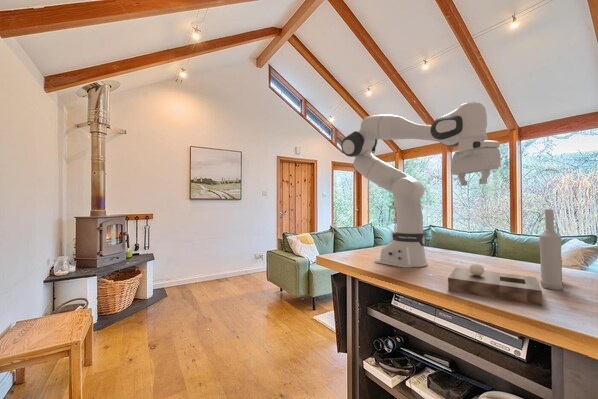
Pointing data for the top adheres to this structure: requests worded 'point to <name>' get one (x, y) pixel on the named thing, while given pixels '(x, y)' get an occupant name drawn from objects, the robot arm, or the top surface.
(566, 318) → the top surface
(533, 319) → the top surface
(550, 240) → the bottle
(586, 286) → the top surface
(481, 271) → the ball
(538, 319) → the top surface
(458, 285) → the board
